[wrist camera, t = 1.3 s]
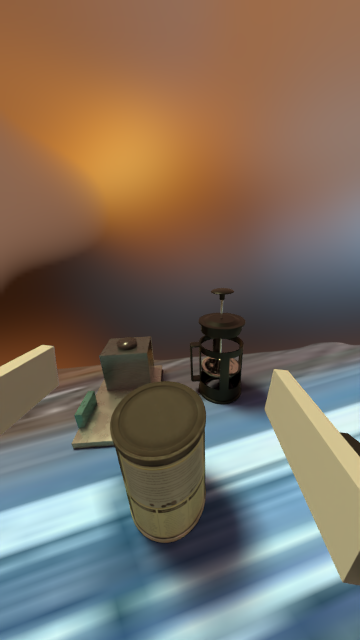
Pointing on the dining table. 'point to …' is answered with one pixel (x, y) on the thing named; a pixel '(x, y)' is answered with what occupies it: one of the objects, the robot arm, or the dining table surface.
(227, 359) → the french press
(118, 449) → the coffee can
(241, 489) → the dining table surface
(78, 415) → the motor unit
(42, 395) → the robot arm
